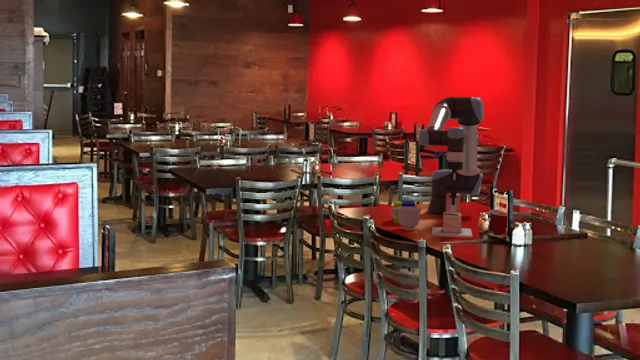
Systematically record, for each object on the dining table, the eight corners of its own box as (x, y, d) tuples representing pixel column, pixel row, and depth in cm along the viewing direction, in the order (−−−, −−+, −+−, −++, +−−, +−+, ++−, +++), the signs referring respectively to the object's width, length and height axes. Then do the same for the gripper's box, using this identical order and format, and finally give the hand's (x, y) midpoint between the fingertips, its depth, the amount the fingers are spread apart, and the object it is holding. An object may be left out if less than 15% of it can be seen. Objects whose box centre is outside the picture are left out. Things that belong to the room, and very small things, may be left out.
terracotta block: (445, 210, 379) (446, 193, 378) (458, 210, 378) (459, 193, 377) (446, 212, 373) (446, 194, 372) (459, 212, 372) (460, 195, 371)
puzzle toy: (414, 223, 401) (415, 203, 399) (394, 223, 401) (395, 203, 400) (412, 220, 410) (413, 200, 409) (393, 219, 411) (393, 200, 409)
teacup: (391, 225, 393) (392, 205, 391) (422, 227, 390) (423, 207, 388) (388, 230, 381) (389, 209, 380) (420, 232, 378) (420, 210, 377)
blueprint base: (432, 229, 387) (432, 226, 387) (470, 230, 384) (470, 228, 384) (432, 235, 369) (432, 233, 369) (472, 237, 367) (472, 235, 366)
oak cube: (442, 229, 381) (443, 212, 380) (460, 229, 380) (460, 213, 379) (443, 232, 373) (443, 214, 372) (460, 232, 372) (461, 215, 371)
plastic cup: (496, 240, 363) (497, 213, 361) (483, 235, 373) (484, 209, 371) (517, 239, 366) (518, 212, 365) (504, 234, 376) (505, 209, 375)
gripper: (446, 158, 382) (444, 207, 385) (446, 162, 364) (444, 213, 366) (462, 159, 381) (460, 208, 384) (463, 163, 363) (461, 214, 365)
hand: (452, 210), depth 375 cm, fingers closed on terracotta block, 6 cm apart
